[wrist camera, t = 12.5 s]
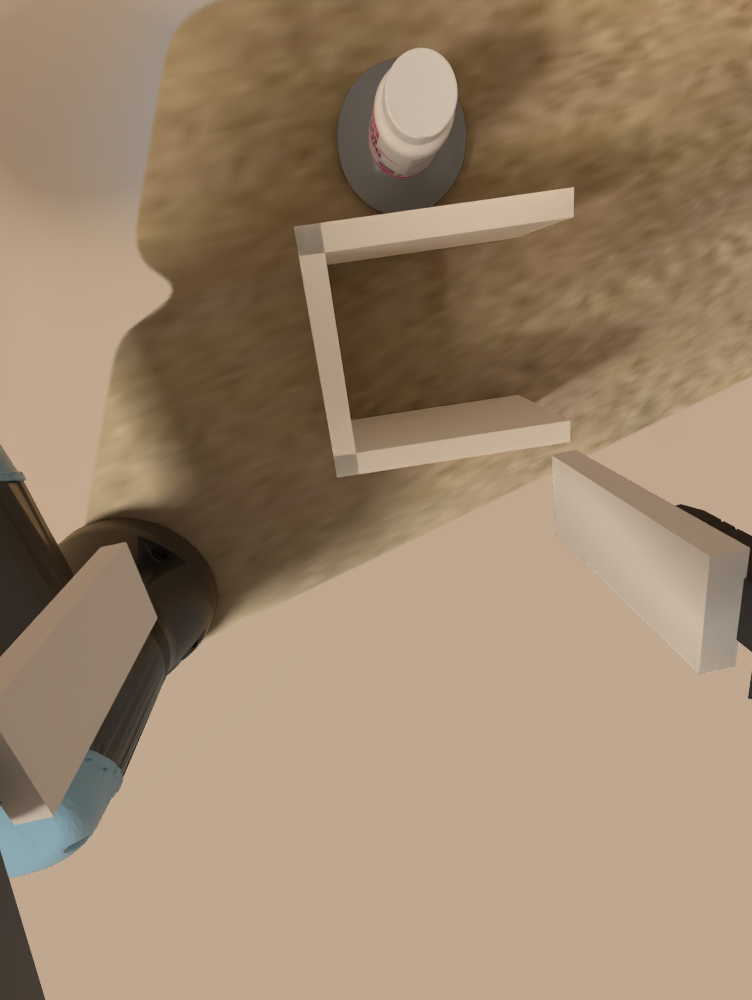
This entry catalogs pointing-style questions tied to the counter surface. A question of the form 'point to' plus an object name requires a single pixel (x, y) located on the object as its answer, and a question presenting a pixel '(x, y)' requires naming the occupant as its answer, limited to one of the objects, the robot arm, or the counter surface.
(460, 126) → the coaster
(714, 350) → the counter surface
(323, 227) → the cubby
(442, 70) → the pill bottle
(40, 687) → the robot arm
